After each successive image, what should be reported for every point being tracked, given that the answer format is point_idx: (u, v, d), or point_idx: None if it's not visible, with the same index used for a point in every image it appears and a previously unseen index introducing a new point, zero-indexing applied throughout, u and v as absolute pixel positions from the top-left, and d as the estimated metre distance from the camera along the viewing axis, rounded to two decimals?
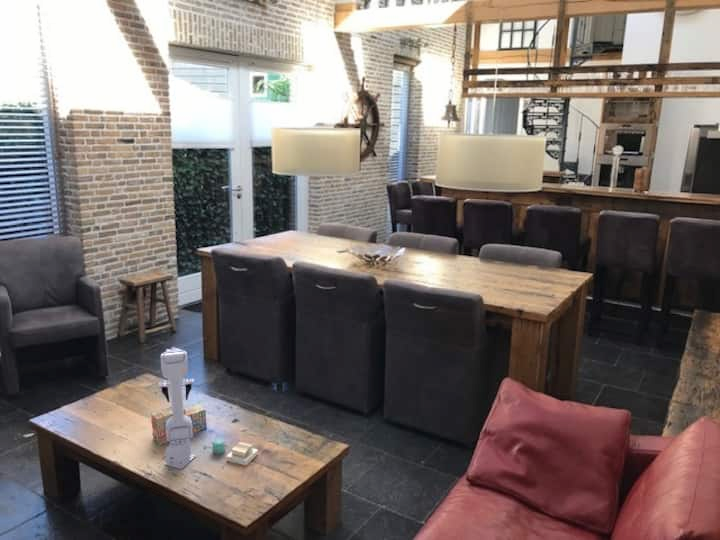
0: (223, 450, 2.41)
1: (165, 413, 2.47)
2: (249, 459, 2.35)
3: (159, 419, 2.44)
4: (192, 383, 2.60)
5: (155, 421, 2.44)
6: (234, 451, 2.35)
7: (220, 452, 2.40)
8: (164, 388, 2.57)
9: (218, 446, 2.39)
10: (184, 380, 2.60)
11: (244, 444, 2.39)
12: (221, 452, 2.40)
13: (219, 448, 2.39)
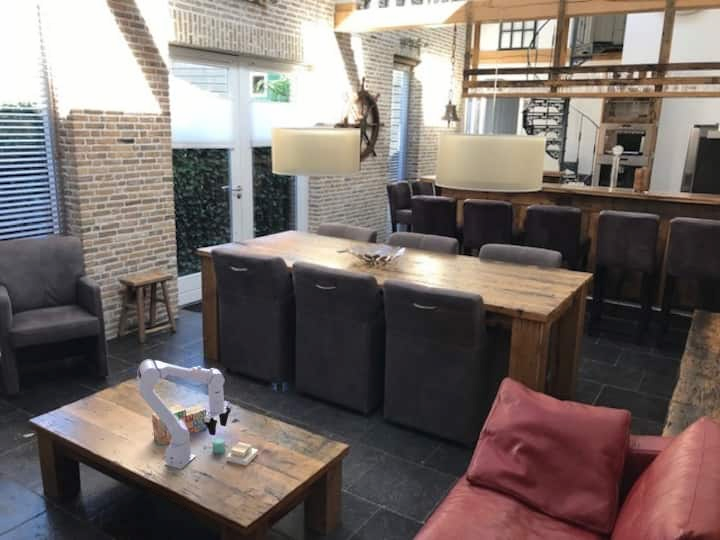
0: (223, 450, 2.41)
1: None
2: (249, 459, 2.35)
3: (160, 419, 2.44)
4: None
5: (156, 421, 2.44)
6: (234, 451, 2.35)
7: (220, 452, 2.40)
8: None
9: (218, 446, 2.39)
10: (214, 415, 2.34)
11: (243, 444, 2.39)
12: (221, 452, 2.40)
13: (219, 448, 2.39)
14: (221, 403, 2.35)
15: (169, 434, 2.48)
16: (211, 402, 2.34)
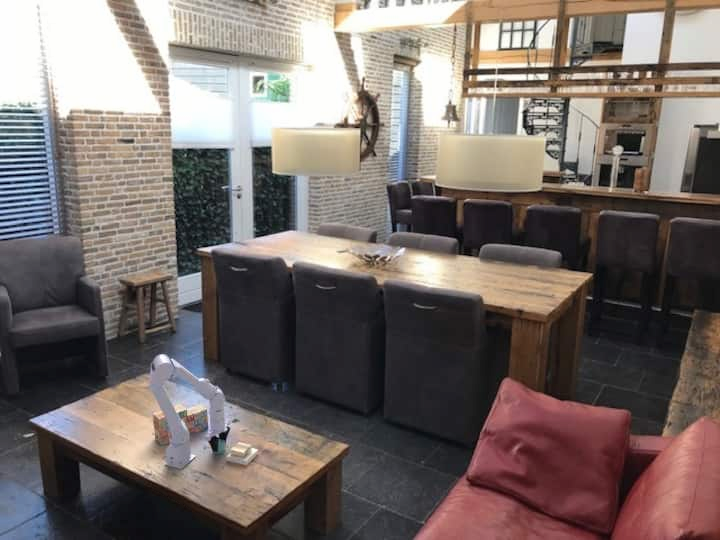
0: (223, 450, 2.41)
1: None
2: (249, 459, 2.35)
3: (161, 419, 2.44)
4: None
5: (157, 421, 2.44)
6: (233, 451, 2.35)
7: (220, 452, 2.40)
8: None
9: (218, 446, 2.39)
10: None
11: (243, 444, 2.39)
12: (221, 451, 2.40)
13: (220, 447, 2.39)
14: (222, 421, 2.37)
15: (170, 434, 2.48)
16: (212, 421, 2.36)
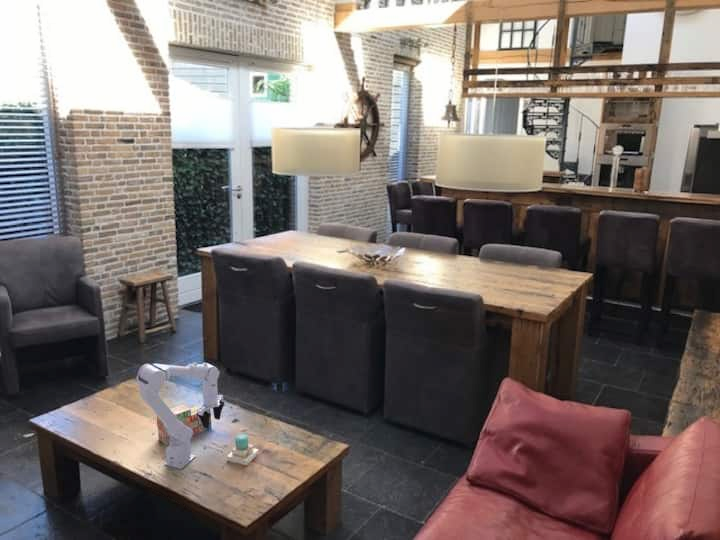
0: (246, 445, 2.36)
1: None
2: (250, 459, 2.35)
3: None
4: None
5: (161, 421, 2.44)
6: (235, 450, 2.35)
7: (244, 448, 2.35)
8: None
9: (241, 441, 2.34)
10: (208, 408, 2.38)
11: None
12: (245, 447, 2.35)
13: (243, 443, 2.34)
14: (215, 396, 2.39)
15: None
16: (205, 395, 2.38)
